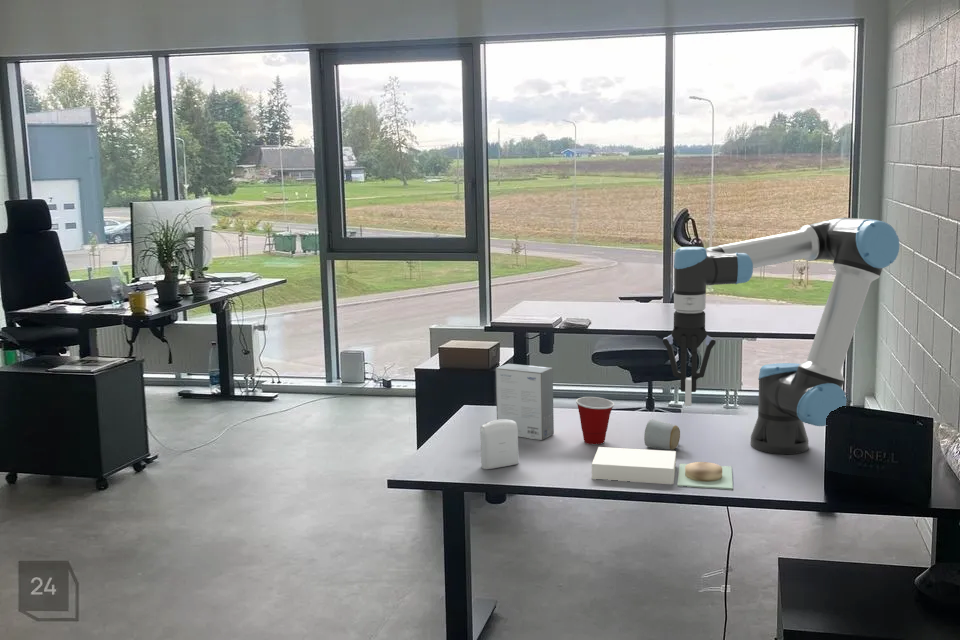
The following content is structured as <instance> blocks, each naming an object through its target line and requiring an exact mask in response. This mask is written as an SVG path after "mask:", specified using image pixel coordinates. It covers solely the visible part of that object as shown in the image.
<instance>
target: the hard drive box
mask: <svg viewBox="0 0 960 640" xmlns="http://www.w3.org/2000/svg"><path fill="white" fill-rule="evenodd" d="M553 372H554V371H553V367H550V366H549V367H548V366H539V365H538V366H536V365H528V364H527V365H526V364H517V363H505V364H502V365H500V366H498V367H495V393H496V395H495V396H496V397H495V399H496V400H495V401H496V402H495V403H496V420H500V419H507V420H513V421H514V422H516V424H517V428H518V438H519V437H520V438H525V439H526V438H527V439H530V440H539V441H542V440H545V439H547V438H548V437H550V436H553V435H554V434H555V425H554V424H555V423H554V421H555V420H554V377H553V374H554V373H553Z"/></svg>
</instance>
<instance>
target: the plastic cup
mask: <svg viewBox="0 0 960 640" xmlns="http://www.w3.org/2000/svg"><path fill="white" fill-rule="evenodd" d="M575 402H576V405H577V409H578V414H579V420H580V427H581V428H580V429H581V431H582V437H583V441H584V443H585V444H587V445H592V444H598V445H602V444H601V443H603V442H604V443H605V441H606V436H607V431H608V426H609V421H610V417H611V413H612V409H613V407H614V406H615V402H614V401H612V400H610V399H607V398H603V397H598V396H597V397H596V396H583V397H579V398H576V399H575ZM604 443H603V444H604Z"/></svg>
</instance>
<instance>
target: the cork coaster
mask: <svg viewBox="0 0 960 640" xmlns="http://www.w3.org/2000/svg"><path fill="white" fill-rule="evenodd" d="M686 464H687V465H686V466H685V476H686V477H687V478H689V479H692V480H696V481H716V480H719V479H721V478H722V467H721V466H722V465H721V464H720V465H719V464H718V463H714V462H708V461H707V462H706V461H696V462H695V461H694V462H690V463H686Z"/></svg>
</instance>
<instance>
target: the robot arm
mask: <svg viewBox="0 0 960 640" xmlns="http://www.w3.org/2000/svg"><path fill="white" fill-rule="evenodd" d="M899 252H900V239H899V236H898V235H897V231H896V230H895V228H894V227H893V226H892V225H890V224H889V223H888V222H885V221H882V220H878V219H873V218H854V217H852V218H851V217H837V218H832V219H827V220H824V221H819V222H815V223H811V224H807V225H802V226H801V227H800V228H799V229H798V230H795V231H789V232H785V233H778V234H773V235H769V236H768V235H767V236H763V237H762V236H761V237H758V238H752V239H746V240H742V241H736V242H732V243H727V244H726V243H725V244H720V245H717V246H711V247H706V248H705V247H702V246H681V247H678V248H677V249H676V250H675V252H674V260H673V261H674V263H673V269H674V270H673V273H674V274H673V275H674V276H673V277H674V278H673V279H674V282H673V289H674V290H673V291H674V293H673V309H674V310H675V311H674V312H673V329H672V330H671V334H669V335H668V336H665V337H663V339H662V344H663V345H664V346H665V348H666V351H667V355H668V357H669V358H668V359H669V363H670V367H671V370H672V375H673V377H675V378H678V379H680V391H681V392H683V393H685V394H684V406H686V407H692V399H693V398H692V397H693V396H692V393H696V392H697V380H698V379H700V378H704V376H705V373H706V370H707V366H708V362H709V359H710V355H711V352H712V349H713V348H714V346H715V345H716V343H717V342H716V338H715V337H711V336H710V335H708V333H707V330H706V312H705V311H704V310H706V306H707V305H706V303H707V301H706V300H707V299H706V298H707V295H706V292H707V291H706V290H707V286H716V285H717V286H720V285H721V286H722V285H731V284H732V285H738V284H744V283H745V284H746V283H748V282H749V281H750V279H751V278H752V276H753V273H754V272H753V271H754V269H756V268H762V267H766V266H771V265H776V264H783V263H787V262H793V261H797V260H802V259H804V260H805V261H807V262H813V261H821V260H824V261H825V260H826V261H833V263H832V266H833V269H834V270H835V276H834V279H833V282H832V285H831V288H830V290H829V291H830V292H829V294H828V296H827V297H828V298H827V301H826V303H825V306H824V308H823V313H822V314H821V318H820V321H819V323H818V326H817V329H816V332H815V336H814V338H813V341H812V344H811V347H810V350H809V353H808V355H807V359H806V361H804V362H803V363H792V362H791V363H790V362H788V363H787V362H785V363H784V362H783V363H782V362H781V363H780V362H779V363H769V364H768V363H767V364H765V365H762V366H761V367H760V368H759V374H758V399H757V400H758V401H757V402H758V404H757V405H758V408H757V409H758V410H757V412H758V413H757V419H756V422H755V423H754V427H753V430H752V432H751V436H750V446H751V447H753V448H754V449H755V450H758V451H760V452H765V453H769V454H776V455H777V454H778V455H794V454H795V455H796V454H801V453H804V452H807V451H808V450H809V437H808V435H807V430H806V427H805V425H804V424H808V425H811V426H815V427H827V425H826V418H827V416H828V415H829V413H830V412H831V411H834V410H835V409H837V408H839V407H842V406H846V407H847V396H846V393H845V391H844V390H843V385H844V382H845V378H844V376H843V374H842V370H843V369H842V368H843V366H844V362H845V361H846V356H847V353H848V350H849V347H850V346H851V341H852V339H853V336H854V333H855V331H856V328H857V324H858V321H859V318H860V316H861V313H862V310H863V307H864V304H865V301H866V299H867V295H868V293H869V289H870V286H871V284H872V282H874V281H875V280H877V279H878V280H879V278H881V277H880V276H881V274H882V272H883V269H884V268H887V267H889V266H890V265H891V264H893V263H894V262H895V260H897V257H898V256H899ZM673 340H674V341H675V342H676V344H677V346H678V347H679V348H680V370H679V368H678V364H677V359H676V356H675V352H674V348H673V343H674V341H673ZM704 341H705V345H706V347H705V349H704V353H703V356H702V361H701V364H700V368H699V371H698V370H697V368H698V363H697V362H698V357H697V356H698V348H700V346H701V344H702V343H703V342H704ZM687 349H691V377H687Z"/></svg>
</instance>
